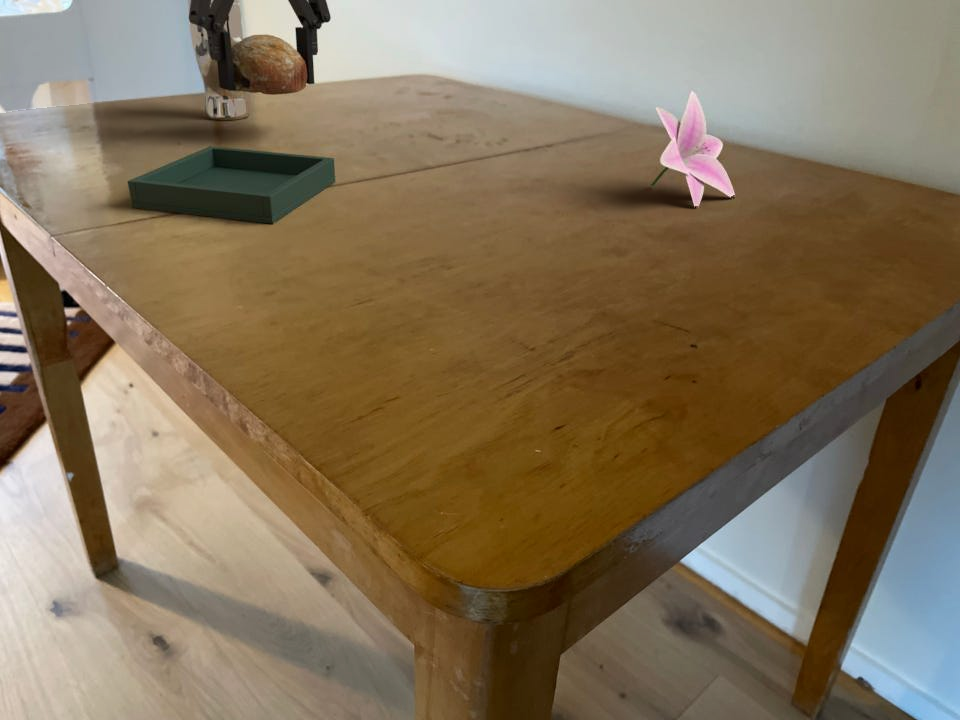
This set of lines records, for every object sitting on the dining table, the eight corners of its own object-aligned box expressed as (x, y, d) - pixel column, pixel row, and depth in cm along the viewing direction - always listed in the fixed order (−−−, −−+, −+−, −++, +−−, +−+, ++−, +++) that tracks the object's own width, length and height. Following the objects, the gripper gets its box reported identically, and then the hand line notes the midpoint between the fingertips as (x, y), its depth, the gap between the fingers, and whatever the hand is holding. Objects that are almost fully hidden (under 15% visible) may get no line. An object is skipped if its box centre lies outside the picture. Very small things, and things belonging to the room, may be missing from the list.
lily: (632, 219, 79) (691, 144, 73) (598, 148, 86) (648, 74, 80) (718, 243, 85) (780, 175, 78) (679, 174, 92) (733, 106, 85)
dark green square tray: (131, 207, 74) (126, 181, 73) (212, 169, 87) (209, 145, 86) (272, 224, 71) (270, 196, 70) (335, 182, 84) (334, 157, 83)
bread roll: (222, 116, 99) (197, 58, 92) (263, 70, 104) (241, 13, 98) (289, 125, 96) (267, 66, 89) (327, 77, 101) (309, 19, 95)
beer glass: (231, 109, 115) (218, -3, 108) (262, 116, 112) (251, 1, 105) (191, 116, 110) (175, -1, 103) (223, 123, 107) (208, 3, 100)
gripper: (165, -132, 78) (193, 98, 89) (356, -114, 92) (361, 83, 102) (136, -130, 83) (167, 87, 94) (322, -114, 97) (330, 75, 107)
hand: (268, 85), depth 98 cm, fingers closed on bread roll, 10 cm apart
